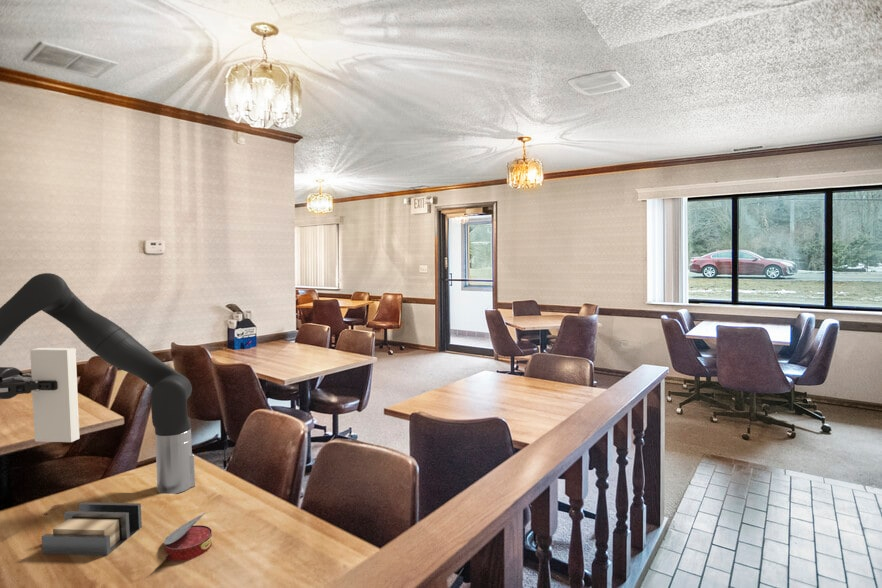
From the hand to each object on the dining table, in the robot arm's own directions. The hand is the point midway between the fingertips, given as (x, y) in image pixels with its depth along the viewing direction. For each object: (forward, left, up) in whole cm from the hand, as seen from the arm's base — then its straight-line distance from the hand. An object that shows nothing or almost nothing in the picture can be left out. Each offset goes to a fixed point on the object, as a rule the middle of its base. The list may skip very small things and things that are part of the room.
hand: (61, 383), depth 115 cm
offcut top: (-2, +10, -34) cm, 35 cm away
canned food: (-20, +24, -38) cm, 50 cm away
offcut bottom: (-2, +10, -36) cm, 38 cm away
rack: (-4, +8, -38) cm, 39 cm away
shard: (-1, -15, -38) cm, 41 cm away
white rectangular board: (+1, -1, -14) cm, 14 cm away
